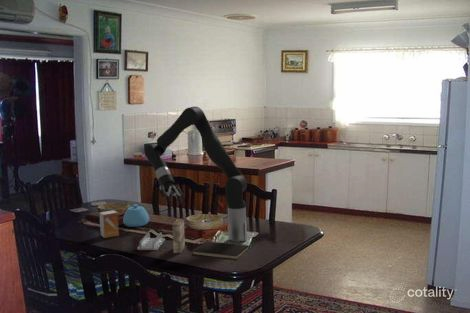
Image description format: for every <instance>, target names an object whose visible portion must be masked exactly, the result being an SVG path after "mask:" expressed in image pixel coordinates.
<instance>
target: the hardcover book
mask: <svg viewBox="0 0 470 313" xmlns="http://www.w3.org/2000/svg"><path fill="white" fill-rule="evenodd" d="M248 250H250V245H247V244H246V245H245V244H237V243H236V244H235V243H228V242H227V243H226V242H225V243H224V242H218V241H207V240H206V241H204V242H203V243H202V244H200V245H199V246H197V247H195V248H194V249H192V253H193V255H198V256H199V255H200V256H206V257H207V256H208V257H214V258H225V259H233V260H237V259H239V258H240V257H241V256H242V255H243V254H244V253H246V251H248Z"/></svg>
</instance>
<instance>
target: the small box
mask: <svg viewBox="0 0 470 313" xmlns="http://www.w3.org/2000/svg"><path fill="white" fill-rule="evenodd" d="M98 214H99V228H100V229H99V230H100V236H101V237H103V238H104V239H108V238H113V237H118V236H120V235H119V234H120V232H119V215H118V212H117V211H116V210H109V211H107V210H106V211H101V212H99V213H98Z"/></svg>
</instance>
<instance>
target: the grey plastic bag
mask: <svg viewBox="0 0 470 313" xmlns="http://www.w3.org/2000/svg"><path fill="white" fill-rule="evenodd" d="M165 240H166V239H165V237H163V233H162V232H159V233H158V234H157V236H156V237H151V232H146V234H145V235H144V236H143V237H142V238H141V239H140V240H139V244H138V246H137V247H136V249H137V250H138V251H157V250H158V249H159V248H160V247H161V246H162V245H163V243H164V242H165Z"/></svg>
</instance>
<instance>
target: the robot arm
mask: <svg viewBox="0 0 470 313" xmlns="http://www.w3.org/2000/svg"><path fill="white" fill-rule="evenodd" d="M190 126H194V127H195V128H196V129H197V131H198V133H199V135H200V137H201V142H202V145H203V146H202V147H203V149H204V151H205V153H206V154H207V156H208V157H209V159H210V160H211V162H212V163H213V164H214V165H216V166H217V167H218V168H219V169H220V170H221V171H222V172H223V174H224V175H225V176H226V178H227V180H226V182H225V187H224V189H225V190H224V191H225V201H226V204H227V226H228V228H227V230H228V231H227V232H228V240H229V241H230V240H231V241H230V242H233V241H234V242H235V243H240V241H241V242H246V241H247V236H248V233H247V232H248V231H247V229H248V228H247V216H246V215H247V208H246V206H247V205H246V201H245V200H244V191H246V189H247V188H248V187H247V186H248V182H247V179H246V178H245V176H244V174H243V173H242V172H241V171H240V170H239V169H238V167H237V166H236V165H235V163H234V161H233V160H232V158H231V156H230V155H229V153H228V151H227V150H226V148H225V147H224V145H223V143H222V142H221V141H220V139H219V137H218V136H217V134H216V132H215V131H214V129H213V128H212V126H211V124H210V123H209V120H208V119H207V116H206V115H205V112H204V110H202V108H201V107H199V106H190V107H186V108H185V109H184V110H183V111H182V112H181V113H180V115H179V116H178V117H177V119H176V120H175V121H174V122H173V123H172V125H171V126H170V127H168V128H167V129H166V130H165V131H164V132H163V133H162V134H161V135H160V136H159V137H158V138H157V140H156V143H157V144H155V143H154V144H153V143H148V144H146V145H145V146H144V148H143V149H144V150H143V151H144V152H143V154H144V156H145V157H146V159H147V160H148V162H149V163H150V164H151V166H152V168H153V170H154V172H155V177H156V178H157V180H158V183H159V187H158V190H159V193H160V195H161V196H160V197H161V198H165V200H166V202H167V205H172V203H173V201H172V199H171V197H170V195H172V196H173V197H175V198H176V200H177V202H178V204H179V205H182V204H183V202H184V201H183V199H182V196H183V195H184V194H183V192H182V190H181V188H180V185H177V186H176V185H175V179H174V177H173V176H172V173H171V171H170V169H169V167H168V166H167V165H168V164H167V163H166V160H165V159H164V158H163V157H162V156H163V155H164V153H165V152H166V150H167V149H168V148H169V147H170V146H171V144H174V142H175V141H176V140H177V139H178V137H179V136H180V135H181V133H182V132H183V131H184V130H186V129H188V128H189V127H190ZM234 242H233V243H234Z"/></svg>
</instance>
